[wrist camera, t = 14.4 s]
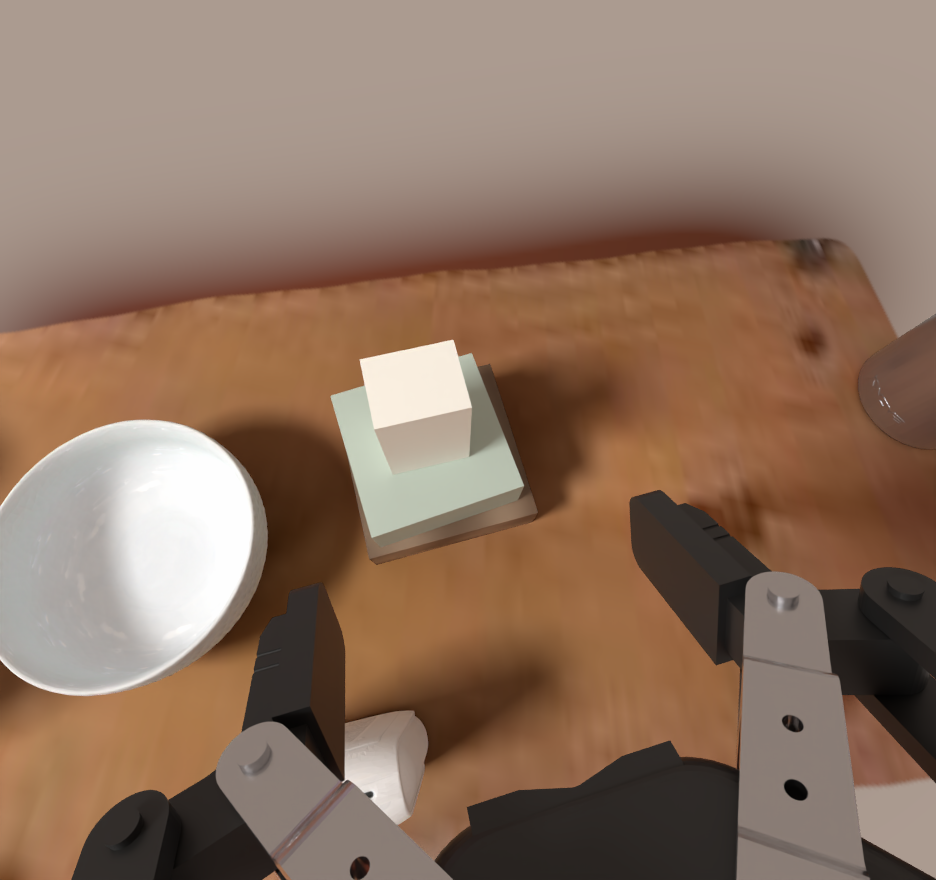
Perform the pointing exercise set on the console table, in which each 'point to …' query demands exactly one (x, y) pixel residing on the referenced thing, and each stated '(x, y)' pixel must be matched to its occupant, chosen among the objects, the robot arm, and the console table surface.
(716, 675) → the console table surface
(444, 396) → the cream block
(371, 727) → the photo printer
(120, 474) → the cereal bowl
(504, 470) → the tower top
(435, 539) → the tower base
